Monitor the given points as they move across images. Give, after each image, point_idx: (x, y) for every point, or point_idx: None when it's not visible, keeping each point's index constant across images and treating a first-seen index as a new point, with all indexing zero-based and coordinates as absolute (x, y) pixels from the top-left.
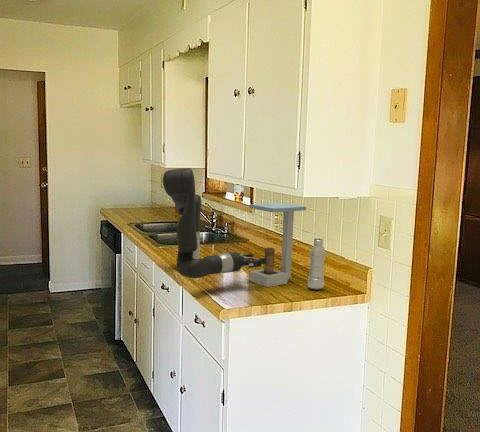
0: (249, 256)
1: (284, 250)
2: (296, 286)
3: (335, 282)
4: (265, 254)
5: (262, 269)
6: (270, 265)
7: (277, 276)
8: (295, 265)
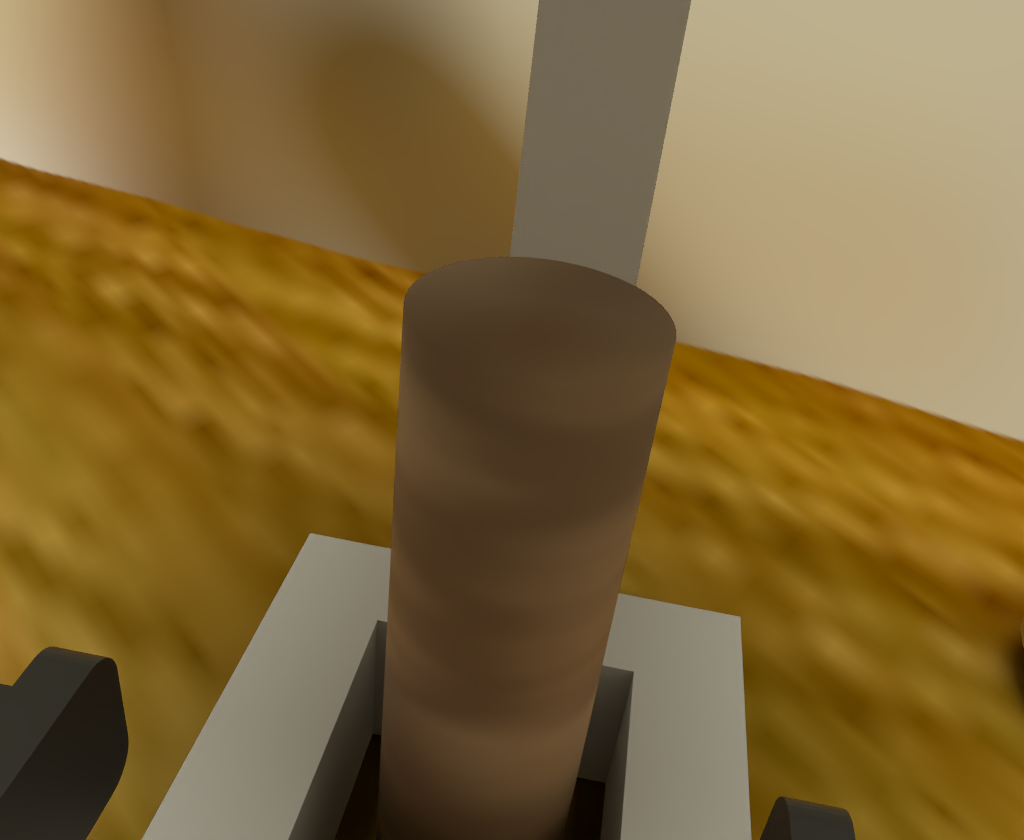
0: (33, 821)
1: (587, 221)
2: (906, 765)
3: (915, 420)
4: (484, 512)
5: (250, 661)
6: (589, 685)
7: (745, 825)
8: (271, 243)
